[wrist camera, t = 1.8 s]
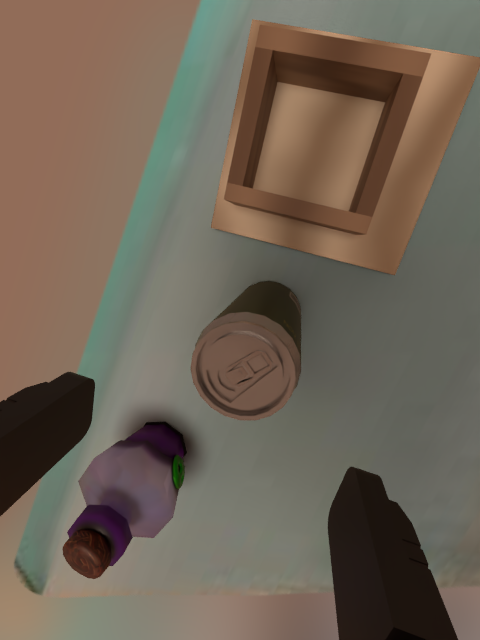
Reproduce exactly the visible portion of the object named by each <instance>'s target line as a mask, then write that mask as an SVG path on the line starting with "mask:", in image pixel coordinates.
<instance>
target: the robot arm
mask: <svg viewBox="0 0 480 640" xmlns="http://www.w3.org/2000/svg"><path fill="white" fill-rule="evenodd" d="M94 391H95V382H94V380H93V379H90V378H87V377H84V376H81V375H78V374H75V373H72V372H67V373H64V374H63V375H61V376H59V377H58V378H56V379H54V380H53V381H51V382H49V383H48V382H44V383H40V384H37V385H34V386H30V387H27V388H24V389H22V390H21V391H19V392H17V393H15V394H14V395H12V396H10V397H8V398H7V400H6V401H5V400H3V401H1V402H0V516H1V515H2V514H3V513H4V512H5V511H7V510H8V509H9V508H10V507H11V506H12V505H13V504H14V503H15V502H16V501H17V500H18V499H19V498H20V497H21V496H22V495H23V494H24V493H26V492H27V491H28V490H29V489H30V488H31V487H32V486H33V485H34V484H35V483H36V482H37V481H38V480H39V479H40V478H41V477H43V476H44V475H45V474H46V473H47V472H48V471H49V470H50V469H51V468H52V467H53V466H54V465H55V464H56V463H57V462H58V461H60V460H61V459H62V458H63V457H64V456H65V455H66V454H67V453H68V452H69V451H70V450H71V449H72V448H73V447H74V446H75V445H76V444H78V443H79V442H80V441H81V440H82V438H83V437H84V436H85V434H86V433H87V431H88V429H89V427H90V424H91V421H92V412H93V402H94ZM328 535H329V545H330V555H331V565H332V574H333V584H334V594H335V603H336V613H337V623H338V633H339V640H458V638H457V636H456V633H455V631H454V628H453V626H452V623H451V620H450V618H449V615H448V613H447V611H446V608H445V605H444V603H443V600H442V598H441V595H440V593H439V590H438V588H437V585H436V583H435V580H434V578H433V575H432V573H431V570H430V569H428V562H427V560H426V557H425V555H424V552H423V550H421V549H420V546H421V545H420V542H419V540H418V537H417V535H416V532H415V530H414V527H413V525H412V523H411V521H410V520H409V519H408V517H407V516H406V514H405V513H404V512H403V510H402V509H401V508H400V506H399V505H398V503H397V502H394V501H391V500H389V499H388V497H387V494H386V491H385V488H384V485H383V482H382V479H381V478H380V476H378V475H376V474H373V473H370V472H367V471H364V470H361V469H358V468H355V467H350V468H349V469H348V470H347V472H346V474H345V476H344V478H343V481H342V483H341V485H340V487H339V489H338V492H337V494H336V496H335V498H334V500H333V503H332V505H331V508H330V512H329V518H328Z"/></svg>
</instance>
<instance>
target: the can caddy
mask: <svg viewBox="0 0 480 640" xmlns="http://www.w3.org/2000/svg"><path fill="white" fill-rule="evenodd" d="M479 67H480V57H474V56H468V55H462V54H456V53H450V52H444V51H438V50H432V49H426V48H420V47H414V46H408V45H402V44H396V43H390V42H384V41H378V40H372V39H366V38H360V37H354V36H348V35H342V34H336V33H331V32H325V31H319V30H313V29H307V28H301V27H295V26H289V25H283V24H277V23H271V22H265V21H259V20H253V19H252V24H251V29H250V34H249V39H248V44H247V49H246V54H245V59H244V64H243V69H242V74H241V79H240V84H239V89H238V94H237V99H236V104H235V109H234V114H233V119H232V124H231V129H230V134H229V139H228V144H227V149H226V154H225V159H224V164H223V169H222V174H221V179H220V184H219V189H218V194H217V199H216V204H215V209H214V214H213V219H212V224H211V228H215V229H219V230H223V231H226V232H230V233H234V234H238V235H242V236H246V237H250V238H253V239H257V240H261V241H265V242H269V243H273V244H277V245H281V246H284V247H288V248H292V249H296V250H300V251H304V252H308V253H311V254H315V255H319V256H323V257H327V258H331V259H335V260H338V261H342V262H346V263H350V264H354V265H358V266H362V267H365V268H369V269H373V270H377V271H381V272H385V273H389V274H392V275H395V274H396V271H397V269H398V266H399V264H400V261H401V259H402V256H403V254H404V252H405V249H406V247H407V244H408V242H409V239H410V237H411V234H412V232H413V229H414V227H415V225H416V222H417V220H418V217H419V215H420V212H421V210H422V207H423V205H424V202H425V200H426V198H427V195H428V193H429V190H430V188H431V185H432V183H433V180H434V178H435V175H436V173H437V171H438V168H439V166H440V163H441V161H442V158H443V156H444V153H445V151H446V148H447V146H448V144H449V141H450V139H451V136H452V134H453V131H454V129H455V126H456V124H457V121H458V119H459V117H460V114H461V112H462V109H463V107H464V104H465V102H466V99H467V97H468V94H469V92H470V90H471V87H472V85H473V82H474V80H475V77H476V75H477V72H478V70H479Z"/></svg>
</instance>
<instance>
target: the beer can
mask: <svg viewBox="0 0 480 640" xmlns="http://www.w3.org/2000/svg"><path fill="white" fill-rule="evenodd" d="M191 372H192V378H193V383H194V385H195V387H196V389H197V391H198V392H199V394H200V396H201V397H202V398H203V399H204V400H205V402H206V403H207V404H208V405H209V406H210V407H211V408H213V409H214V410H216V411H218V412H219V413H221V414H223V415H224V416H227V417H231V418H234V419H238V420H258V419H261V418H265V417H268V416H271V415H272V414H274V413H275V412H277V411H278V410H279V409H281V408H282V407H283V406H284V405H285V404H286V402H287V401H288V399H289V398H290V396H291V395H292V392H293V391H294V389H295V388H296V387H297V384H298V380H299V376H300V373H301V309H300V304H299V302H298V300H297V297H296V296H295V295H294V294H293V292H292V291H291V290H290V289H289V288H287V287H285V286H284V285H282V284H280V283H276V282H271V281H265V282H258V283H256V284H254V285H252V286H249V287H248V288H247V289H246V290H245V291H244V292H243V293H242V294H241V295H240V296H239V297H238V298H237V299H236V300H234V301H233V302H232V303H231V304H230V305H229V306H228V307H227V308H226V309H225V310H224V311H223V312H222V313H221V314H220V315H219V316H218V317H217V318H216V319H214V320H213V321H212V322H211V323H210V324H209V325H208V326H207V327H206V328H205V329H204V330H203V331H202V333H201V335H200V337H199V339H198V341H197V343H196V345H195V350H194V352H193V356H192V363H191Z"/></svg>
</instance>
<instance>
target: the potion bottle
mask: <svg viewBox="0 0 480 640" xmlns="http://www.w3.org/2000/svg"><path fill="white" fill-rule="evenodd" d="M186 453H187V452H186V448H185V443H184V439H183V435H182V434H181V433H180V432H178V431H177V430H176V429H174V428H173V427H172V426H170V425H169V424H168V423H166V422H147V423H146V424H145V425H144V427H143V428H141V429H140V430H138V431H137V432H135V433H134V434H133V435H131V436H130V437H128V438H127V439H125V440H120V441H119V442H117V443H116V444H114V445H113V446H111V447H110V448H108V449H107V450H105V451H104V452H102V453H101V454H100V455H98V456H97V457H95V458H94V459H93V461H92V462H91V464H90V465H89V467H88V468H87V470H86V471H85V472H84V474H83V475H82V477H81V478H80V480H79V481H78V482H79V485H80V488H81V490H82V493H83V496H84V499H85V502H86V505H87V507H86V508H85V510H84V511H83V512H82V513H81V515H80V516H79V517H78V518H77V520H76V521H75V522H74V524H73V525H72V526H71V528H70V529H69V531H68V532H67V533H68V535H69V539H68V541H67V542H66V543H65V544H64V546H63V555H64V557H65V559H66V561H67V562H68V564H69V565H70V566H71V567H72V569H74V570H75V571H77V572H78V573H79V574H81V575H83V576H85V577H87V578H92V579H95V578H98V577H100V576H101V575H102V574H103V572H104V571H105V570H106V569H107V568H108V566H113V565H114V564H115V563H116V562H117V561H118V560H119V558H120V557H121V556H122V555H123V554H124V552H125V550H126V548H127V546H128V545H129V543H130V541H131V539H132V538H133V537H132V536H134V537H148V538H154V537H155V536H156V535H157V534H158V533H159V532H160V531H161V529H162V528H163V527H164V526H165V525H166V524H167V523H168V522H169V521H170V520H171V519H172V518H173V514H174V510H175V505H176V500H177V496H178V491H179V488H181V486H182V484H183V480H184V473H185V472H184V468H185V466H184V464H183V457H184V455H185V454H186Z"/></svg>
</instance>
